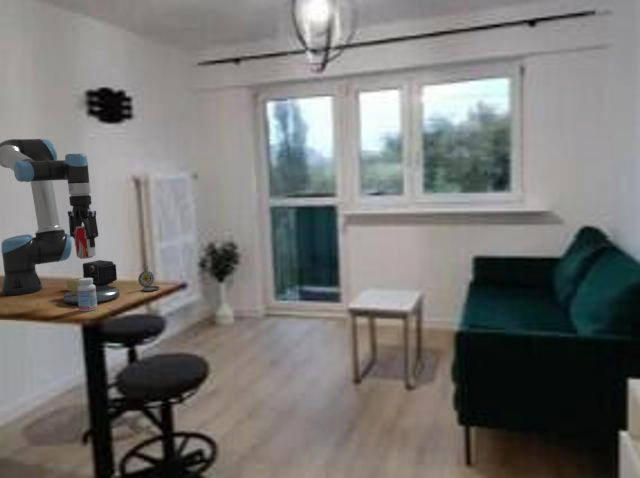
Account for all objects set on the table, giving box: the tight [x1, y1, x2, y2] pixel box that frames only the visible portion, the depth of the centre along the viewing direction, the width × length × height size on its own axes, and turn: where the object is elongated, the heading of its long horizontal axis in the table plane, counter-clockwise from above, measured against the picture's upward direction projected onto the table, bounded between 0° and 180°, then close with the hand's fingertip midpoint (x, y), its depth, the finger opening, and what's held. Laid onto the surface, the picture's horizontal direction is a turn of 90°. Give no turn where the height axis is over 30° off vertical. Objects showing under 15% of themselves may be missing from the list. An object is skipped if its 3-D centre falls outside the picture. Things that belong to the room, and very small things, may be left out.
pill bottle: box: [77, 277, 98, 313], centre depth 199 cm, size 6×6×11 cm
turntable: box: [63, 279, 120, 305], centre depth 216 cm, size 23×20×6 cm
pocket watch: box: [138, 264, 160, 292], centre depth 229 cm, size 8×8×10 cm
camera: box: [82, 259, 118, 287], centre depth 239 cm, size 11×11×15 cm
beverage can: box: [74, 225, 94, 259], centre depth 213 cm, size 6×6×12 cm
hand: (86, 255), depth 213 cm, fingers closed on beverage can, 6 cm apart
